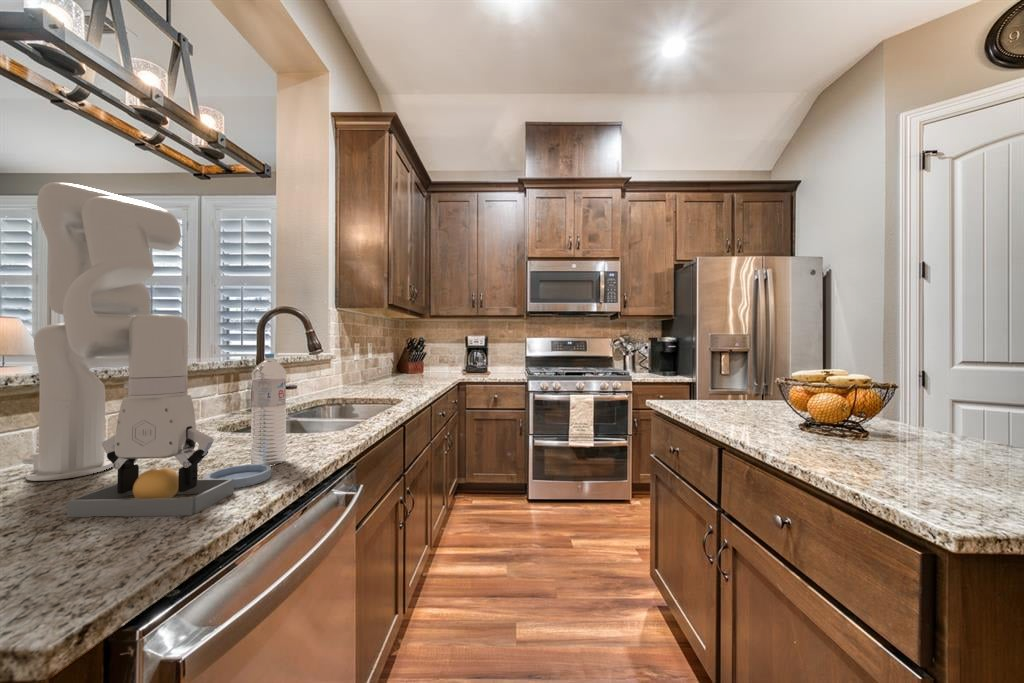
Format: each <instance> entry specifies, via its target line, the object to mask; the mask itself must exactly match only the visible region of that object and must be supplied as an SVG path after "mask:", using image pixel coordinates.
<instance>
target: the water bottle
mask: <svg viewBox="0 0 1024 683" xmlns="http://www.w3.org/2000/svg"><path fill="white" fill-rule="evenodd" d="M264 357H265V358H264V359H265V360H263V361H261V362H260V363H258V365H257V366H255V367H254V368H253V370H252V372H251V381H252V383H251V385H252V386H251V387H252V388H251V409H250V410H251V412H250V413H251V419H250V423H251V424H250V427H251V428H250V464H264V465H269V466H270V465H274V464H278V463H281V462H283V461H284V462H285V461H286V451H287V449H286V448H287V445H286V444H287V433H286V432H287V404H286V400H287V398H286V395H287V394H286V392H287V391H286V390H287V389H286V388H287V387H286V385H287V370H286V369H285V367H284V366H283V365H281V363H280V362H278V361H277V360H275V359H274V358H275V353H265V354H264ZM284 462H283V463H284ZM281 464H282V463H281Z"/></svg>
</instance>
